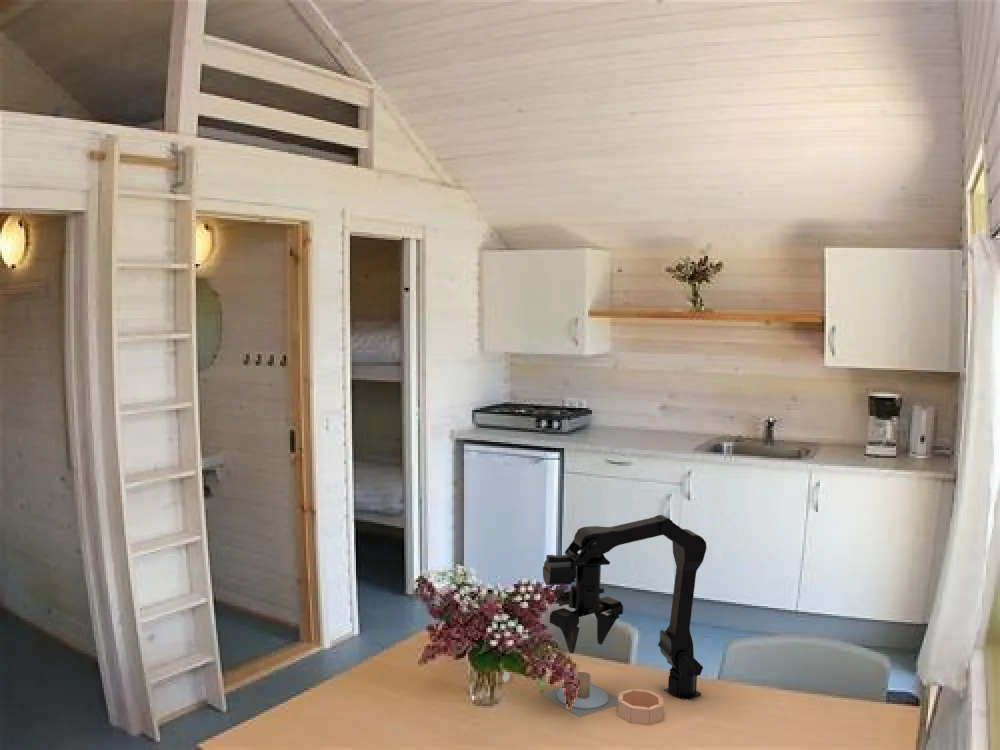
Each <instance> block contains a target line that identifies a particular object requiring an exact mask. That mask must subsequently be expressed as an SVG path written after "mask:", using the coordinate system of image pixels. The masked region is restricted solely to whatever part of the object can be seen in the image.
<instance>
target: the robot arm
mask: <svg viewBox="0 0 1000 750" xmlns="http://www.w3.org/2000/svg"><path fill="white" fill-rule="evenodd" d="M658 536H659V537H660V536H664V537H665V538H667V539H668V540H670V541H671V543H672V555H673V558H674V561H675V562H674V563H675V576H674V577H675V578H674V586H673V594H672V602H671V603H672V604H671V611H670V619H669V620H670V621H669V625H668V627H667V628H666V629H665V630H664V629H663V630H662V629H660V630H659V641H658V643H657V646H658V647H659V649H660V650H659V651H660V653H661V654H662V656H663V657H664V658H665V659H666V662H667V664H669V665H670V666H671V668H670V669H669V676H668V681H667V682H668V683H667V684H668V687H667V688H664V689H663V691H664V692H666V693H667V694H669V695H671V696H674V697H677V698H678V699H680V700H684V701H685V700H689V701H690V700H692V699H694V698H697V697H700V696H702V692H699V690H697V684H698V683H697V682H698V676H701V675H702V672H703V668H704V667H703V666H702V664H701V663H700V662H699V661H698V660H697V659H696V658H695V657H694V656H695V654H694V652H695V651H694V641H693V637H692V634H691V628H690V627H691V621H692V613H693V603H694V594H695V587H696V580H697V579H696V578H697V571H698V570H699V568H700V567H701V565H702V564H703V562H704V558H705V555H706V551H707V541H705V539H704V538H703V537H702V536H700V535H699V534H697V533H695V532H694V531H692V530H690V529H687V528H682V527H680V526H679V525H677V524H676V523H675V522H673V520H671V518H669V517H667V516H665V515H663V514H658V515H655V516H654V517H649V518H644V519H641V520H640V519H639V520H636V521H631V522H628V523H622V524H619V525H614V526H613V525H612V526H599V525H597V526H596V525H594V526H593V525H591V526H582V527H580V528H578V529H577V531H576V532H575V534H574V537H573V540H572V541H571V543H570V544H569V546H568V547H567V548H566V550H565V551H564V554H561V555H556V554H547V555H546V560H545V561H544V562H543V563H544V564H543V566H542V577H543V582H544V584H545V586H548V587H549V586H567V585H571V584H572V583H575V584H573V585H571V587H570V589H568V590H564V589H563V588H558V590H556V589H554V590H555V592H556V598H557V600H556V603H554V604H555V605H556V604H558V606H559V607H562V608H559V609H555V610H552V611H551V612H550V613H549V623H550V624H551V625H554V627H556V628H559V629H560V631H561V633H562V635H563V637H564V641H565V643H566V647H567V649H568V652H569V653H570V654H574V652H575V649H576V646H577V643H578V642H577V641H578V636H579V631H580V627H578V625H579V624H580V619H584V618H587V617H591V616H595V618H596V625H597V626H596V628H597V629H596V634H597V635H596V638H597V639H596V640H597V644H598V645H601V646H602V645H603V644H604V641H605V639H606V638H607V636H608V634H609V632H610V631H611V629H612V627H613V626H614V624H615V623H616V621H617V619H619V618H620V615H623V614H624V606H623V605H624V604H622V602H621V601H620V600H617V599H615V598H612V597H609V596H604V597H601V594H604V593H605V588H603V587H601V573H602V571H601V570H602V568H601V567H602V566H604V565H605V566H608V565H610V564H611V561H609V560H608V559H607V558H606V557H605V555H604V554H607V553H609V552H610V551H612V550H613V549H614V548H616V547H618V546H621V545H625V544H631V543H633V542H639V541H643V540H647V539H652V538H656V537H658ZM579 551H580V552H579ZM563 606H568V608H570V609H574V610H573V611H572V610H569V609H567V608H563Z"/></svg>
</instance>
